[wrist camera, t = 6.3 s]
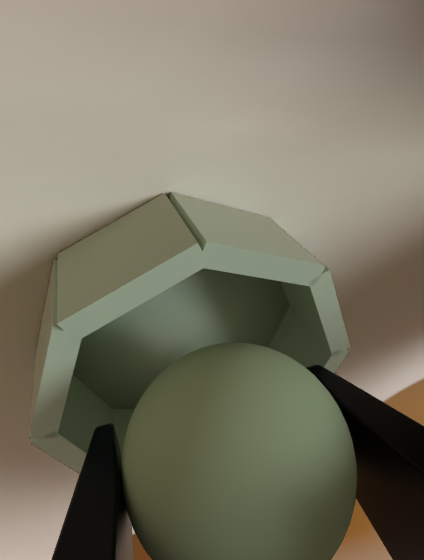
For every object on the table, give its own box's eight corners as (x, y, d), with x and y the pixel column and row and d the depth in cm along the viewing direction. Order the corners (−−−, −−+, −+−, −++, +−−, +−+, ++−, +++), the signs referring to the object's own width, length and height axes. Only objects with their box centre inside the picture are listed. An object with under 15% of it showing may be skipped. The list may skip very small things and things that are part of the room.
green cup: (246, 146, 10) (306, 180, 7) (313, 334, 15) (362, 390, 12) (-28, 301, 10) (-56, 388, 7) (134, 439, 15) (148, 517, 12)
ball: (251, 265, 9) (409, 450, 5) (301, 377, 12) (423, 548, 8) (66, 372, 9) (73, 654, 5) (164, 458, 12) (219, 673, 8)
